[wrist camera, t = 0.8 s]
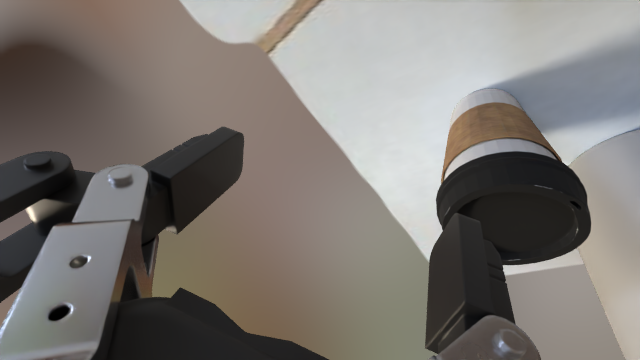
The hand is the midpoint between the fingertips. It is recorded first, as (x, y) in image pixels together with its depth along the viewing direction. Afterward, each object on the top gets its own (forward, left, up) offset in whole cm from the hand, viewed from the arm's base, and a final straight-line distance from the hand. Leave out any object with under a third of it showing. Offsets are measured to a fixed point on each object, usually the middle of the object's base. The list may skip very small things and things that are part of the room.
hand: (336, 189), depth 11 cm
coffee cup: (+12, -1, -22) cm, 25 cm away
